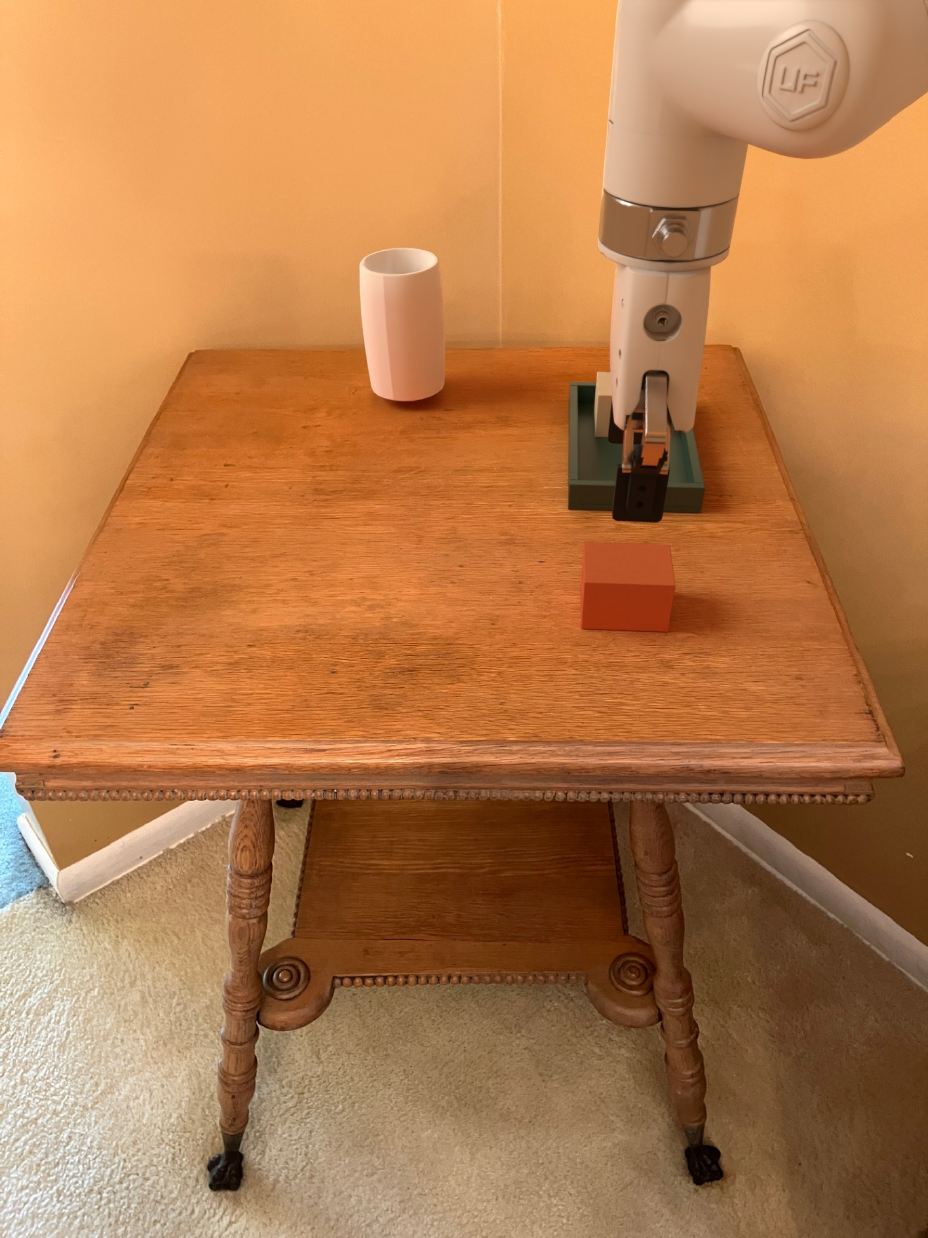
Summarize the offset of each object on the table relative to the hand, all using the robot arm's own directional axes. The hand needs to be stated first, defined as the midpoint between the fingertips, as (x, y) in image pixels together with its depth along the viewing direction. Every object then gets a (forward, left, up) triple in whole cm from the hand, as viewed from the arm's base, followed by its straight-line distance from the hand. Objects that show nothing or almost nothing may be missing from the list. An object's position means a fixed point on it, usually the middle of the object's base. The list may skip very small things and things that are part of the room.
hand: (632, 478), depth 63 cm
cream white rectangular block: (+19, -20, -11) cm, 30 cm away
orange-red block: (0, 0, -12) cm, 12 cm away
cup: (+40, -8, -12) cm, 42 cm away
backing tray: (+16, -17, -12) cm, 26 cm away
